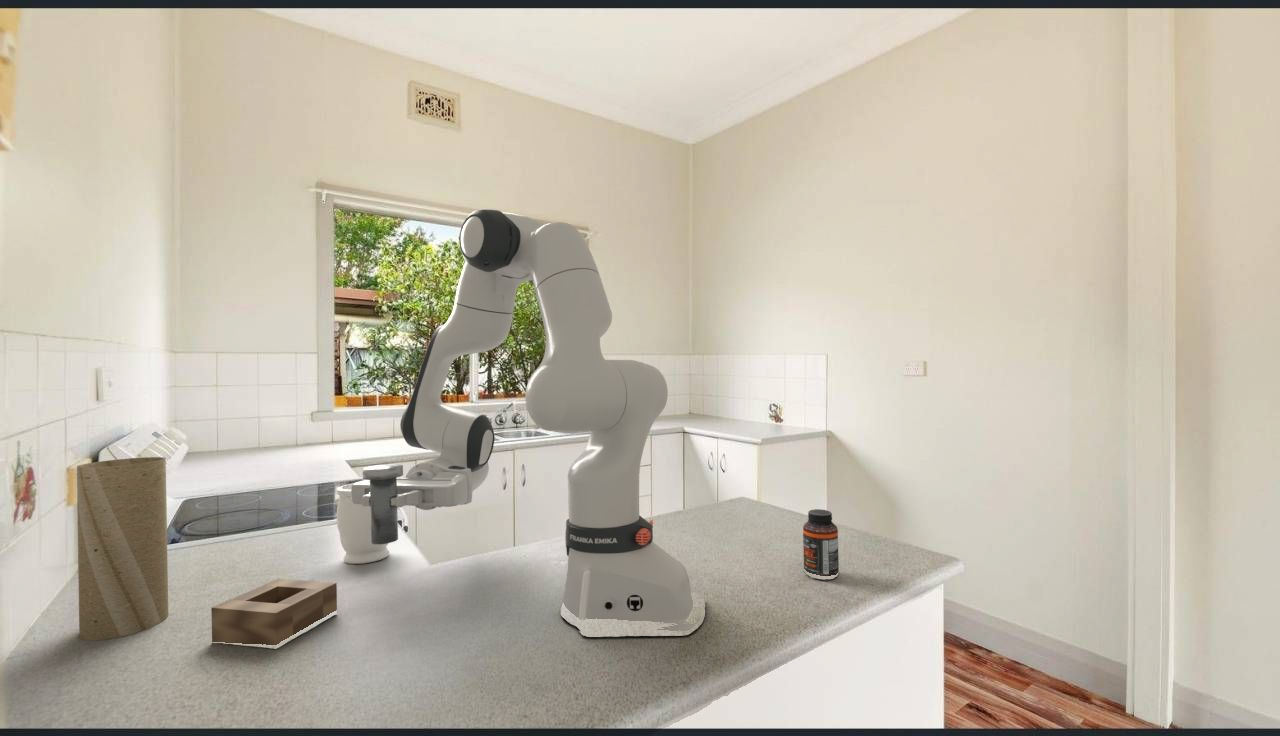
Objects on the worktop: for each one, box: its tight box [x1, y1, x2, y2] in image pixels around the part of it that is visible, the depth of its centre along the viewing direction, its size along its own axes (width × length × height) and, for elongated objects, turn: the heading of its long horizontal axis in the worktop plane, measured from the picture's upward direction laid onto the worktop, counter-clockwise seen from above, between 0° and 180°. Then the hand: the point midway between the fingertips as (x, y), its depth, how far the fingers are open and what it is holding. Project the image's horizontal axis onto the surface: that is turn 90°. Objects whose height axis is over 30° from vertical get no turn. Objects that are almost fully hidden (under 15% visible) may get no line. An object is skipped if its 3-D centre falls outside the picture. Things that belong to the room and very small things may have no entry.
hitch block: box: [210, 578, 338, 645], centre depth 82 cm, size 11×11×5 cm
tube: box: [76, 456, 169, 642], centre depth 84 cm, size 10×10×25 cm
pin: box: [362, 463, 404, 544], centre depth 90 cm, size 6×6×12 cm
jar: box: [336, 482, 390, 565], centre depth 113 cm, size 11×10×15 cm
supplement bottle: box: [802, 508, 840, 576], centre depth 98 cm, size 6×6×11 cm
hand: (380, 502), depth 89 cm, fingers closed on pin, 4 cm apart
